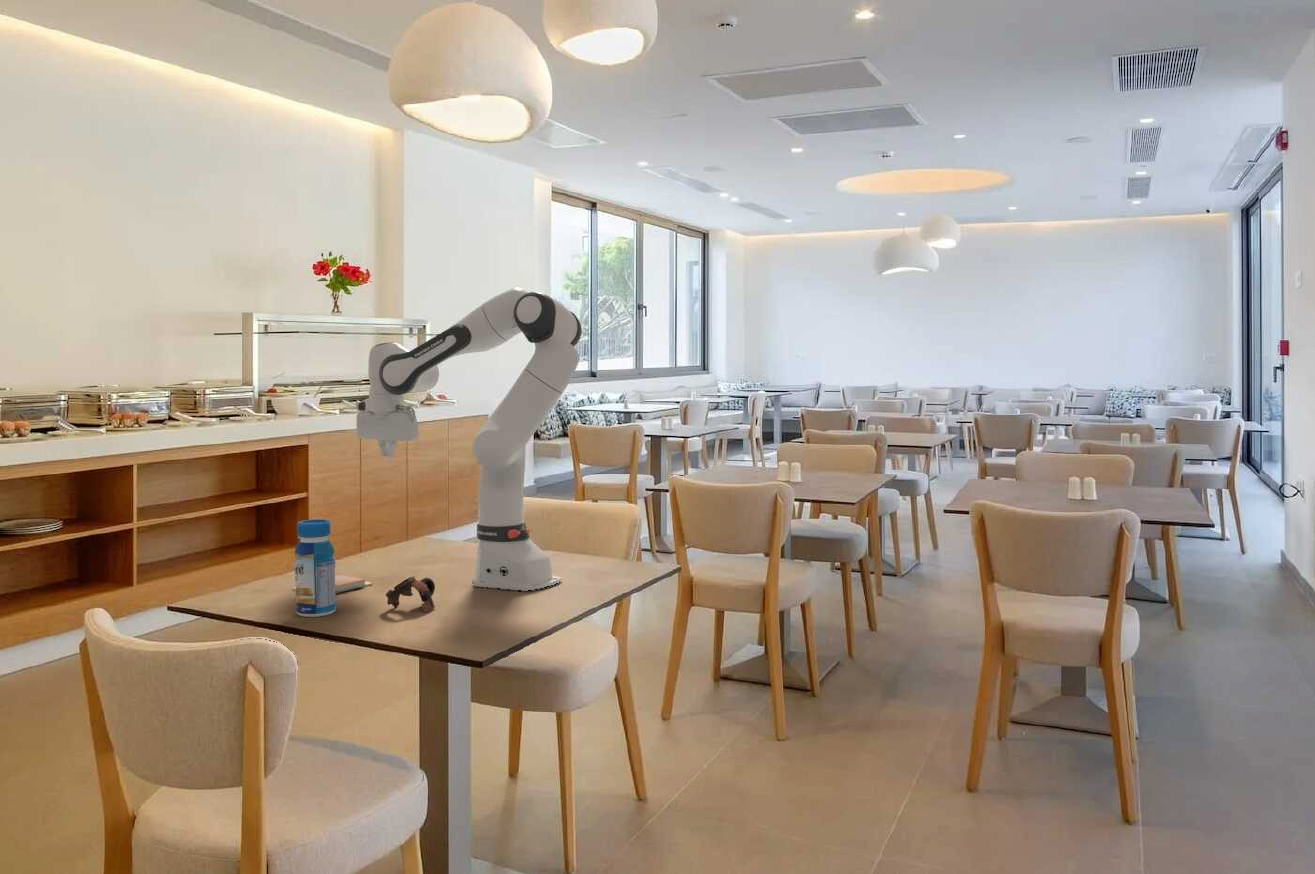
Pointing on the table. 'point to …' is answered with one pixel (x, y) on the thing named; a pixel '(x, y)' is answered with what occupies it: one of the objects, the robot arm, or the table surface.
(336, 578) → the glazed tile
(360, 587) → the cream cloth
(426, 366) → the robot arm
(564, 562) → the table surface
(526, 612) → the table surface
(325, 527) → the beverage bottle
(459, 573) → the table surface
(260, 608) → the table surface
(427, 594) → the brown ring-shaped piece
